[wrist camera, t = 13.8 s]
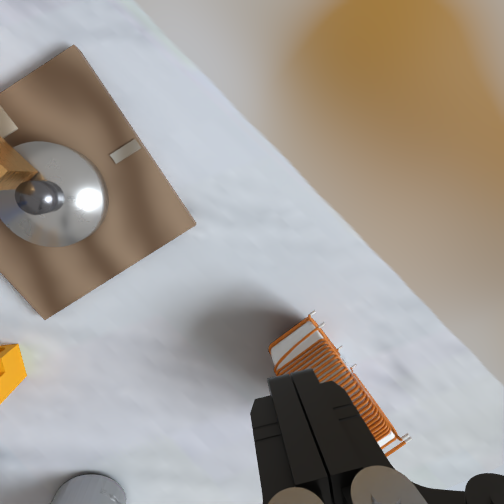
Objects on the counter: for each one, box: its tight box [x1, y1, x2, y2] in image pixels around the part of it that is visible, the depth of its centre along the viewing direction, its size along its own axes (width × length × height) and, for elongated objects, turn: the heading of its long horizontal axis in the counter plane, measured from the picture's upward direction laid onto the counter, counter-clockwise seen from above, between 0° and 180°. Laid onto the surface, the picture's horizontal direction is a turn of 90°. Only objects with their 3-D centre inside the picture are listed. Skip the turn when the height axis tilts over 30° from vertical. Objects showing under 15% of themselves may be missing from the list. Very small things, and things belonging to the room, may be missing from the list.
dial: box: [0, 136, 109, 247], centre depth 27 cm, size 15×10×6 cm, turn 41°
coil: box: [269, 310, 412, 457], centre depth 34 cm, size 7×15×15 cm, turn 37°
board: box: [0, 45, 196, 320], centre depth 32 cm, size 20×20×2 cm
